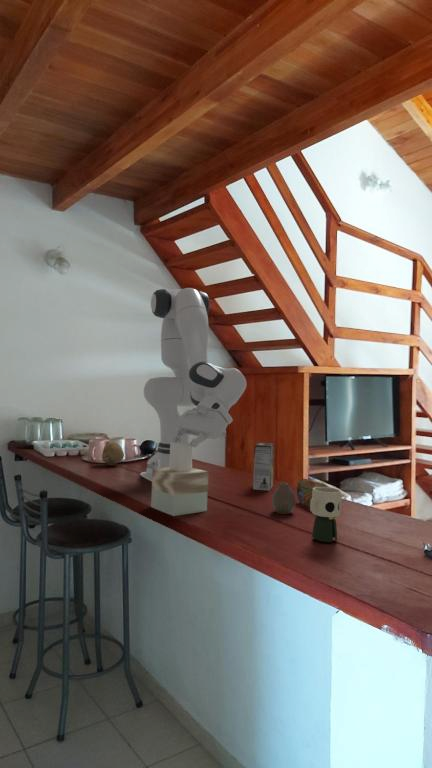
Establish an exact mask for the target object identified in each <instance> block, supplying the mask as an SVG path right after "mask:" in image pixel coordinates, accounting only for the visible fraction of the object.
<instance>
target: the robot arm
mask: <svg viewBox="0 0 432 768" xmlns="http://www.w3.org/2000/svg"><path fill="white" fill-rule="evenodd" d="M210 302H211V301H210V297H209V296H208V294H207V293H206V292H204V291H201V290H197V289H195V288H193V287H185V288H181V289H178V288H175V289H173V288H172V289H166V288H161V289H157V290H155V291H154V292H153V293H152V296H151V299H150V307H151V312H152V314H153V315H154V317H156V318H160V319H162V324H161V333H160V347H161V348H160V350H161V351H160V355H161V361H162V364H163V365H164V366H165V367H167V368H169V369H170V370H171V371H172V372H173V374H174V376H158V377H153V378H149V379H148V380H147V381H146V383H145V385H144V387H143V396H144V399H145V401H146V402H147V404H149V405H150V406H152V408H153V409H154V411H155V412H156V413H157V417H158V419H159V423H160V440H159V442H158V443H156V445H157V449H156V451H157V452H156V453H154V455H152V456H151V457H150V458H149V459H148V461H147V462H146V471H142V472H140V474H139V475H140V476H141V477H143V478H144V479H145V480H147V481H149V482H151V483H152V471H153V469H154V468H164V467H169V461H170V443H173V442H185V443H190V444H191V445H192V448H197V447H198V446H199V445H200V444H201V443H203V442H204V441H206V440H207V439H210V440H216V439H218V438H219V437H220V436H221V435H222V434H223V433H224V431H225V430H226V429H227V428H228V425H230V424H231V423H232V422H233V421H234V419H233V418H232V416H231V414H230V413H229V412H230V409H231V408H232V406H234V405H235V404H236V403H238V401H239V399H240V398H241V397H242V395H243V393H244V392H245V390H246V388H247V379H246V377H245V375H244V374H243V373H242V372H241V370H239V369H237V368H235V367H228V368H227V367H221V366H218V365H214V364H213V363H211V362H209V360H208V341H209V317H208V314H209V311H210V307H211V303H210ZM178 407H194V408H192V409H187V410H185V411H184V412H183V413H182V414H179V410H178ZM195 407H196V408H195ZM191 436H195V438H192V440H191V439H190V438H191ZM191 467H192V468H193V458H192V459H191Z"/></svg>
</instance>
